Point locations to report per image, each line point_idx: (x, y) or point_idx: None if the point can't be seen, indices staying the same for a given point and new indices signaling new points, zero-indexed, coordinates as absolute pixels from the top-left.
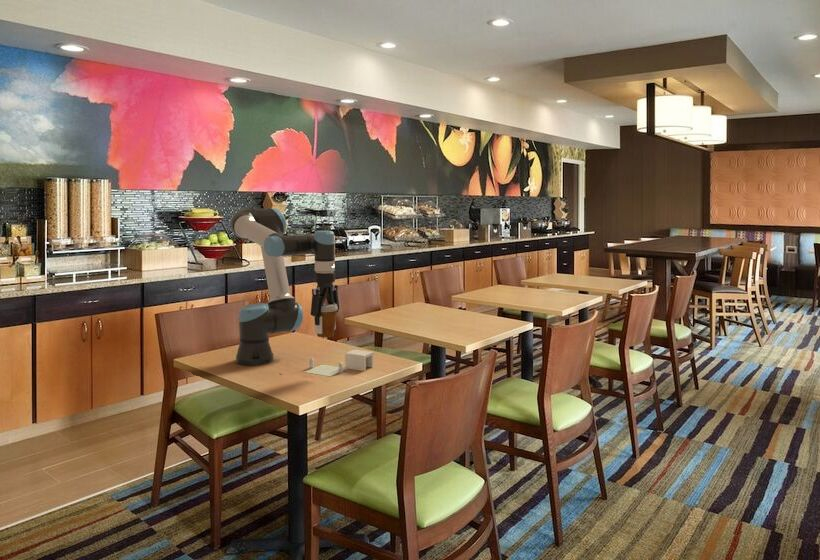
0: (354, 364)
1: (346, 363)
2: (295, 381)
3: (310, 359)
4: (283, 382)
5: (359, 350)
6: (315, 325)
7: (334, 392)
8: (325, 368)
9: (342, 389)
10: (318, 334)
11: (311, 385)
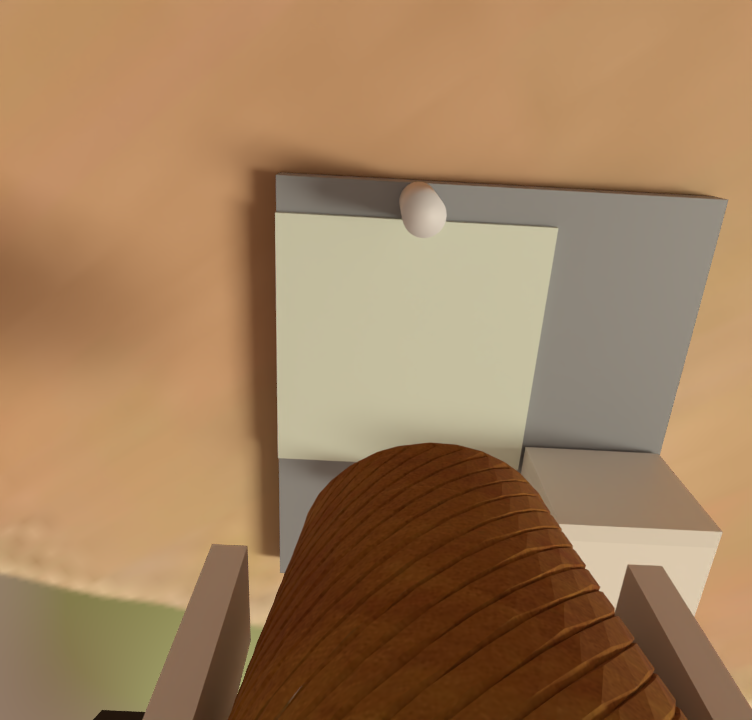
0: None
1: (532, 479)
2: (117, 236)
3: (402, 215)
4: (38, 161)
5: (695, 583)
6: (166, 670)
7: (87, 577)
8: (449, 322)
9: (160, 588)
10: (301, 531)
11: (112, 395)
